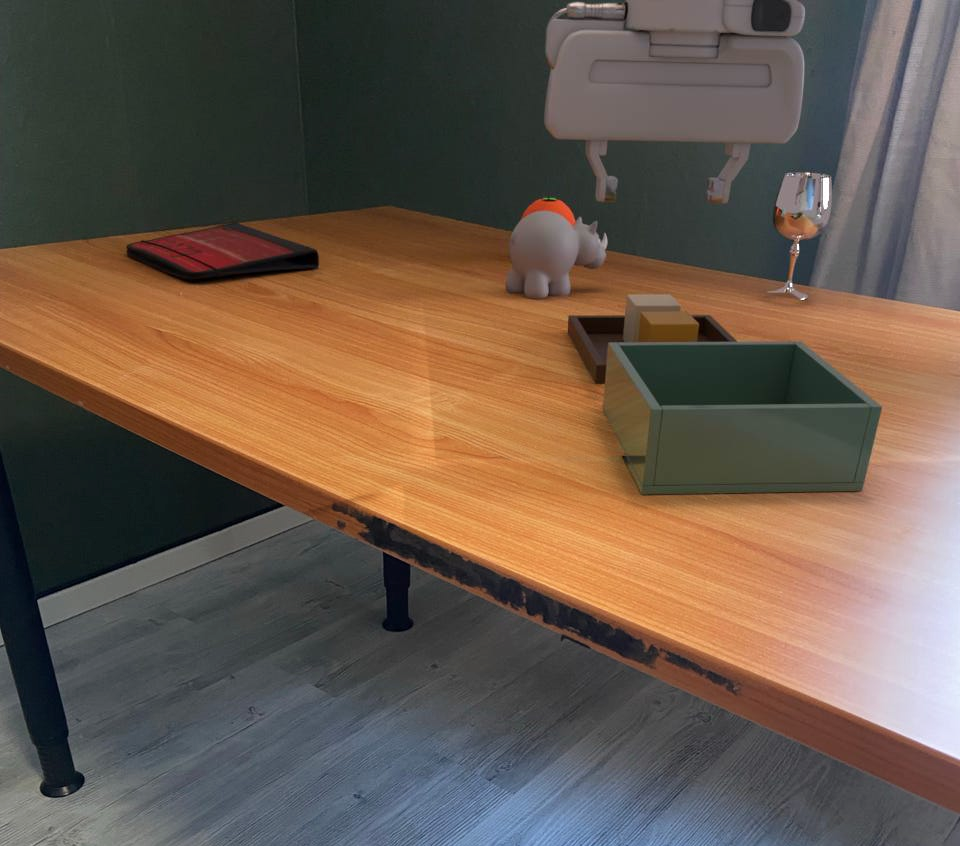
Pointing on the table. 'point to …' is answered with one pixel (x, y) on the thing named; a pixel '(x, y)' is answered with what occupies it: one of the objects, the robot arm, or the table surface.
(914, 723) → the table surface
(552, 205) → the clementine
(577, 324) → the shallow brown tray
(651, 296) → the cream block
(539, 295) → the chubby cartoon animal
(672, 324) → the mustard block
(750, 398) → the green storage bin
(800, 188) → the wineglass
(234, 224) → the binder
